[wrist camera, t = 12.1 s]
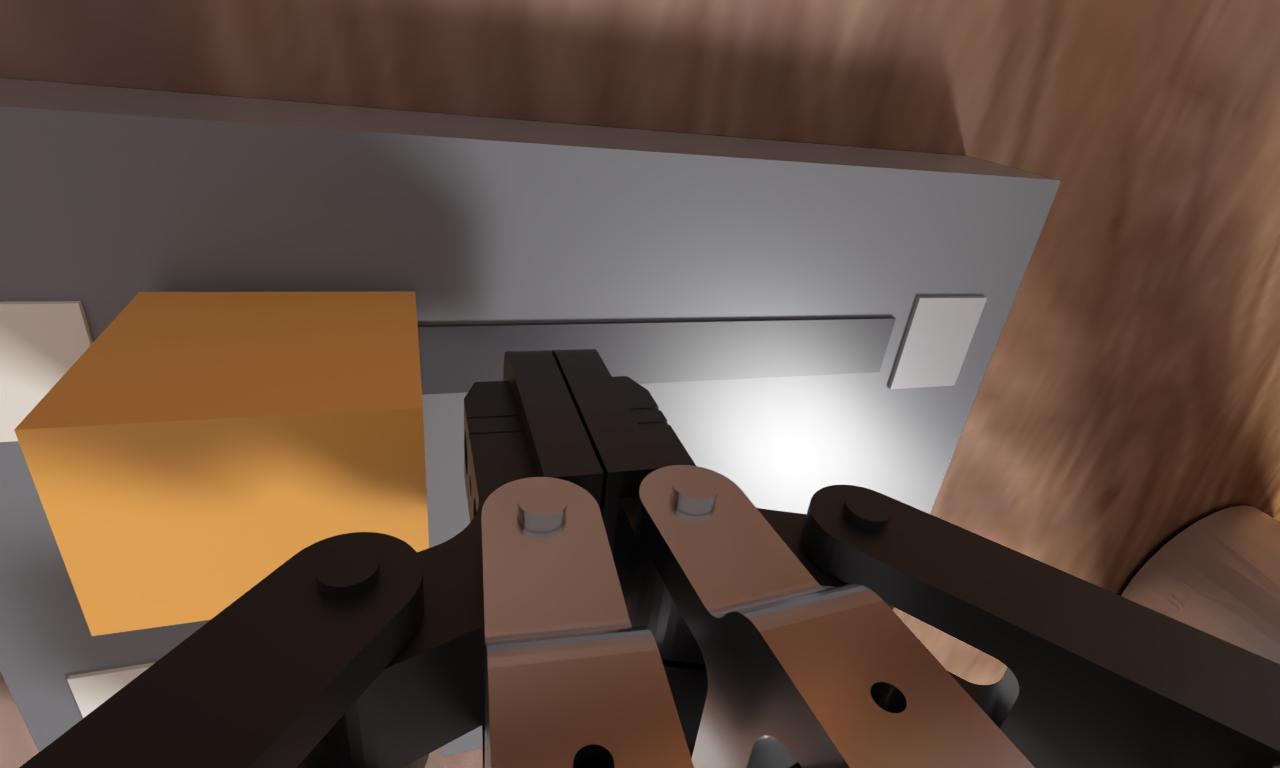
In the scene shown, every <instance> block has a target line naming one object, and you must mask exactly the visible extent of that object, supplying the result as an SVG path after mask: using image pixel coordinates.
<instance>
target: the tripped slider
mask: <svg viewBox="0 0 1280 768" xmlns="http://www.w3.org/2000/svg"><path fill="white" fill-rule="evenodd" d="M14 431H15V433H16V436H17V439H18V441H19V444H20V447H21V449H22V452H23V455H24V457H25V460H26V463H27V465H28V468H29V471H30V473H31V476H32V479H33V481H34V484H35V487H36V489H37V492H38V495H39V497H40V500H41V502H42V505H43V508H44V510H45V513H46V516H47V518H48V521H49V524H50V526H51V529H52V532H53V534H54V537H55V540H56V542H57V545H58V548H59V550H60V553H61V556H62V558H63V561H64V563H65V566H66V569H67V571H68V574H69V577H70V579H71V582H72V585H73V587H74V590H75V593H76V595H77V598H78V601H79V603H80V606H81V609H82V611H83V614H84V617H85V619H86V622H87V624H88V627H89V630H90V632H91V635H92V636H97V635H104V634H112V633H119V632H126V631H133V630H140V629H147V628H155V627H162V626H169V625H176V624H183V623H191V622H198V621H205V620H211V619H212V618H214V617H215V616H216V615H218V614H219V613H220V612H221V611H223V610H224V609H225V608H227V607H228V606H229V605H231V604H232V603H233V602H234V601H236V600H237V599H238V598H240V597H241V596H242V595H243V594H245V593H246V592H247V591H249V590H250V589H251V588H253V587H254V586H255V585H256V584H258V583H259V582H260V581H262V580H263V579H264V578H265V577H267V576H268V575H269V574H271V573H272V572H273V571H275V570H276V569H277V568H278V567H280V566H281V565H282V564H284V563H285V562H286V561H287V560H289V559H290V558H291V557H293V556H294V555H295V554H297V553H298V552H300V551H301V550H303V549H304V548H306V547H308V546H310V545H312V544H314V543H316V542H319V541H321V540H324V539H326V538H330V537H333V536H337V535H341V534H347V533H355V532H376V533H382V534H387V535H390V536H394V537H396V538H399V539H401V540H403V541H405V542H406V543H407V544H409V545H410V546H411V547H412V548H413V549H414V550H415V551H416V552H420V551H422V550H425V549H428V548H429V533H428V510H427V487H426V465H425V442H424V419H423V400H422V385H421V370H420V354H419V339H418V324H417V309H416V294H415V291H366V292H139V293H138V294H137V295H136V296H135V297H134V298H133V299H132V300H131V301H130V303H129V304H128V305H127V306H126V307H125V308H124V309H123V310H122V311H121V313H120V314H119V315H118V316H117V317H116V318H115V319H114V320H113V321H112V322H111V324H110V325H109V326H108V327H107V328H106V329H105V330H104V331H103V332H102V333H101V335H100V336H99V337H98V338H97V339H96V340H95V341H94V342H93V343H92V345H91V346H90V347H89V348H88V349H87V350H86V351H85V352H84V353H83V354H82V356H81V357H80V358H79V359H78V360H77V361H76V362H75V363H74V364H73V365H72V367H71V368H70V369H69V370H68V371H67V372H66V373H65V374H64V375H63V376H62V378H61V379H60V380H59V381H58V382H57V383H56V384H55V385H54V386H53V388H52V389H51V390H50V391H49V392H48V393H47V394H46V395H45V396H44V397H43V399H42V400H41V401H40V402H39V403H38V404H37V405H36V406H35V407H34V408H33V410H32V411H31V412H30V413H29V414H28V415H27V416H26V417H25V418H24V419H23V421H22V422H21V423H20V424H19V425H18V426H17V427H16V428H15V429H14Z"/></svg>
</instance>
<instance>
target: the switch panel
mask: <svg viewBox="0 0 1280 768" xmlns="http://www.w3.org/2000/svg"><path fill="white" fill-rule="evenodd" d="M1060 183H1061V180H1058V179H1054V178H1050V177H1047V176H1043V175H1039V174H1035V173H1031V172H1027V171H1023V170H1020V169H1016V168H1012V167H1008V166H1004V165H1000V164H996V163H993V162H989V161H985V160H981V159H977V158H973V157H969V156H961V155H949V154H936V153H924V152H912V151H899V150H887V149H874V148H862V147H850V146H837V145H825V144H813V143H800V142H788V141H776V140H763V139H751V138H738V137H726V136H714V135H701V134H689V133H677V132H664V131H652V130H639V129H627V128H615V127H602V126H590V125H578V124H565V123H553V122H540V121H528V120H516V119H503V118H491V117H479V116H466V115H454V114H441V113H429V112H417V111H404V110H392V109H380V108H367V107H355V106H342V105H330V104H318V103H305V102H293V101H281V100H268V99H256V98H244V97H231V96H219V95H206V94H194V93H182V92H169V91H157V90H145V89H132V88H120V87H107V86H95V85H83V84H70V83H58V82H46V81H33V80H21V79H8V78H0V672H1V674H2V676H3V678H4V680H5V682H6V684H7V687H8V689H9V691H10V693H11V695H12V697H13V699H14V701H15V703H16V705H17V707H18V709H19V711H20V713H21V716H22V718H23V720H24V722H25V724H26V726H27V728H28V730H29V732H30V734H31V736H32V738H33V740H34V742H35V744H36V747H37V749H38V751H39V752H40V751H42V750H43V749H44V748H46V747H47V746H48V745H49V744H51V743H52V742H53V741H55V740H56V739H57V738H59V737H60V736H61V735H62V734H64V733H65V732H66V731H68V730H69V729H70V728H71V727H73V726H74V725H75V724H77V723H78V722H79V721H81V720H82V719H83V718H84V717H86V716H87V715H88V714H90V713H91V712H92V711H93V710H95V709H96V708H97V707H99V706H100V705H101V704H103V703H104V702H105V701H106V700H108V699H109V698H110V697H112V696H113V695H114V694H115V693H117V692H118V691H119V690H121V689H122V688H123V687H124V686H126V685H127V684H128V683H130V682H131V681H132V680H134V679H135V678H136V677H137V676H139V675H140V674H141V673H143V672H144V671H145V670H146V669H148V668H149V667H150V666H152V665H153V664H154V663H156V662H157V661H158V660H159V659H161V658H162V657H163V656H165V655H166V654H167V653H168V652H170V651H171V650H172V649H174V648H175V647H176V646H178V645H179V644H180V643H181V642H183V641H184V640H185V639H187V638H188V637H189V636H190V635H192V634H193V633H194V632H196V631H197V630H198V629H199V628H201V627H202V626H203V625H205V624H206V623H207V622H209V621H210V620H205V621H198V622H191V623H183V624H176V625H169V626H162V627H155V628H147V629H140V630H133V631H126V632H119V633H112V634H104V635H97V636H92V635H91V632H90V630H89V627H88V624H87V622H86V619H85V617H84V614H83V611H82V609H81V606H80V603H79V601H78V598H77V595H76V593H75V590H74V587H73V585H72V582H71V579H70V577H69V574H68V571H67V569H66V566H65V563H64V561H63V558H62V556H61V553H60V550H59V548H58V545H57V542H56V540H55V537H54V534H53V532H52V529H51V526H50V524H49V521H48V518H47V516H46V513H45V510H44V508H43V505H42V502H41V500H40V497H39V495H38V492H37V489H36V487H35V484H34V481H33V479H32V476H31V473H30V471H29V468H28V465H27V463H26V460H25V457H24V455H23V452H22V449H21V447H20V444H19V441H18V439H17V436H16V433H15V431H14V429H15V428H16V427H17V426H18V425H19V424H20V423H21V422H22V421H23V419H24V418H25V417H26V416H27V415H28V414H29V413H30V412H31V411H32V410H33V408H34V407H35V406H36V405H37V404H38V403H39V402H40V401H41V400H42V399H43V397H44V396H45V395H46V394H47V393H48V392H49V391H50V390H51V389H52V388H53V386H54V385H55V384H56V383H57V382H58V381H59V380H60V379H61V378H62V376H63V375H64V374H65V373H66V372H67V371H68V370H69V369H70V368H71V367H72V365H73V364H74V363H75V362H76V361H77V360H78V359H79V358H80V357H81V356H82V354H83V353H84V352H85V351H86V350H87V349H88V348H89V347H90V346H91V345H92V343H93V342H94V341H95V340H96V339H97V338H98V337H99V336H100V335H101V333H102V332H103V331H104V330H105V329H106V328H107V327H108V326H109V325H110V324H111V322H112V321H113V320H114V319H115V318H116V317H117V316H118V315H119V314H120V313H121V311H122V310H123V309H124V308H125V307H126V306H127V305H128V304H129V303H130V301H131V300H132V299H133V298H134V297H135V296H136V295H137V294H138V293H139V292H366V291H415V294H416V309H417V324H418V339H419V354H420V370H421V385H422V400H423V419H424V442H425V465H426V487H427V510H428V533H429V548H431V547H434V546H436V545H439V544H441V543H444V542H446V541H447V540H449V539H451V538H453V537H454V536H456V535H457V534H459V533H460V532H461V531H463V530H464V529H465V528H466V527H467V526H468V525H469V524H470V517H469V510H468V499H467V494H466V486H465V478H464V398H465V396H466V395H467V393H468V392H469V390H470V389H471V387H472V386H473V384H474V383H475V382H487V381H503V366H504V355H505V352H506V351H540V350H550V351H552V350H576V349H596V350H597V351H598V353H599V355H600V357H601V358H602V360H603V362H604V364H605V365H606V367H607V369H608V371H609V373H610V374H611V376H612V377H614V376H628V377H629V378H631V379H632V380H634V381H635V382H637V383H638V384H640V385H641V386H643V387H644V388H646V389H647V390H648V391H649V393H650V394H651V396H652V397H653V399H654V400H655V402H656V404H657V405H658V407H659V410H661V411H662V413H663V415H664V416H665V418H666V419H667V421H668V425H670V426H671V427H672V429H673V430H674V432H675V433H676V435H677V437H678V438H679V440H680V441H681V443H682V444H683V446H684V448H685V449H686V451H687V452H688V454H689V455H690V457H691V458H692V460H693V462H694V463H695V465H696V466H698V467H703V468H707V469H710V470H713V471H715V472H717V473H720V474H722V475H724V476H725V477H727V478H729V479H730V480H731V481H733V482H734V483H735V484H736V485H737V486H738V487H739V488H740V489H741V490H742V491H743V492H744V494H745V495H746V496H747V497H748V498H749V500H750V501H751V502H752V503H753V505H754V506H755V507H756V508H761V509H768V510H776V511H784V512H792V513H800V514H807V511H808V508H809V504H810V501H811V498H812V496H813V495H814V494H815V493H816V492H817V491H818V490H820V489H822V488H824V487H827V486H832V485H854V486H859V487H864V488H867V489H871V490H874V491H876V492H879V493H881V494H884V495H886V496H888V497H891V498H893V499H895V500H898V501H900V502H902V503H905V504H907V505H909V506H912V507H914V508H916V509H919V510H921V511H923V512H926V513H928V514H930V512H931V510H932V507H933V505H934V502H935V500H936V497H937V495H938V492H939V489H940V487H941V484H942V482H943V479H944V477H945V474H946V472H947V469H948V467H949V464H950V462H951V459H952V457H953V454H954V451H955V449H956V446H957V444H958V441H959V439H960V436H961V434H962V431H963V429H964V426H965V424H966V421H967V419H968V416H969V413H970V411H971V408H972V406H973V403H974V401H975V398H976V396H977V393H978V391H979V388H980V386H981V383H982V380H983V378H984V375H985V373H986V370H987V368H988V365H989V363H990V360H991V358H992V355H993V353H994V350H995V348H996V345H997V342H998V340H999V337H1000V335H1001V332H1002V330H1003V327H1004V325H1005V322H1006V320H1007V317H1008V315H1009V312H1010V309H1011V307H1012V304H1013V302H1014V299H1015V297H1016V294H1017V292H1018V289H1019V287H1020V284H1021V282H1022V279H1023V277H1024V274H1025V271H1026V269H1027V266H1028V264H1029V261H1030V259H1031V256H1032V254H1033V251H1034V249H1035V246H1036V244H1037V241H1038V239H1039V236H1040V233H1041V231H1042V228H1043V226H1044V223H1045V221H1046V218H1047V216H1048V213H1049V211H1050V208H1051V206H1052V203H1053V200H1054V198H1055V195H1056V193H1057V190H1058V188H1059V185H1060ZM481 748H482V730H481V726H480V727H478V728H476V729H474V730H472V731H470V732H468V733H467V734H465V735H463V736H461V737H459V738H457V739H455V740H453V741H452V742H450V743H448V744H446V745H444V746H442V747H441V751H442V757H445V756H449V755H454V754H458V753H463V752H468V751H472V750H477V749H481Z"/></svg>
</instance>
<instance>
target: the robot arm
mask: <svg viewBox="0 0 1280 768" xmlns="http://www.w3.org/2000/svg"><path fill="white" fill-rule="evenodd" d="M464 478H465V486H466V494H467V499H468V510H469V517H470V524H469V525H468V526H467V527H466V528H465V529H464V530H463V531H461V532H460V533H459V534H457V535H456V536H454V537H453V538H451V539H449V540H447V541H446V542H444V543H441V544H439V545H436V546H434V547H431V548H428V549H425V550H422V551H420V552H416V551H415V550H414V549H413V548H412V547H411V546H410V545H409V544H407V543H406V542H405V541H403V540H401V539H399V538H396V537H394V536H390V535H387V534H382V533H376V532H355V533H347V534H341V535H337V536H333V537H330V538H326V539H324V540H321V541H319V542H316V543H314V544H312V545H310V546H308V547H306V548H304V549H303V550H301V551H300V552H298V553H297V554H295V555H294V556H293V557H291V558H290V559H289V560H287V561H286V562H285V563H284V564H282V565H281V566H280V567H278V568H277V569H276V570H275V571H273V572H272V573H271V574H269V575H268V576H267V577H265V578H264V579H263V580H262V581H260V582H259V583H258V584H256V585H255V586H254V587H253V588H251V589H250V590H249V591H247V592H246V593H245V594H243V595H242V596H241V597H240V598H238V599H237V600H236V601H234V602H233V603H232V604H231V605H229V606H228V607H227V608H225V609H224V610H223V611H221V612H220V613H219V614H218V615H216V616H215V617H214V618H212V619H211V620H210V621H209V622H207V623H206V624H205V625H203V626H202V627H201V628H199V629H198V630H197V631H196V632H194V633H193V634H192V635H190V636H189V637H188V638H187V639H185V640H184V641H183V642H181V643H180V644H179V645H178V646H176V647H175V648H174V649H172V650H171V651H170V652H168V653H167V654H166V655H165V656H163V657H162V658H161V659H159V660H158V661H157V662H156V663H154V664H153V665H152V666H150V667H149V668H148V669H146V670H145V671H144V672H143V673H141V674H140V675H139V676H137V677H136V678H135V679H134V680H132V681H131V682H130V683H128V684H127V685H126V686H124V687H123V688H122V689H121V690H119V691H118V692H117V693H115V694H114V695H113V696H112V697H110V698H109V699H108V700H106V701H105V702H104V703H103V704H101V705H100V706H99V707H97V708H96V709H95V710H93V711H92V712H91V713H90V714H88V715H87V716H86V717H84V718H83V719H82V720H81V721H79V722H78V723H77V724H75V725H74V726H73V727H71V728H70V729H69V730H68V731H66V732H65V733H64V734H62V735H61V736H60V737H59V738H57V739H56V740H55V741H53V742H52V743H51V744H49V745H48V746H47V747H46V748H44V749H43V750H42V751H40V752H39V753H38V754H37V755H35V756H34V757H33V758H31V759H30V760H29V761H27V762H26V763H25V764H24V765H22V766H21V767H20V768H425V765H426V763H427V760H428V758H429V753H431V752H433V751H435V750H437V749H438V748H440V747H442V746H444V745H446V744H448V743H450V742H452V741H453V740H455V739H457V738H459V737H461V736H463V735H465V734H467V733H468V732H470V731H472V730H474V729H476V728H478V727H480V726H481V730H482V768H1280V522H1279V521H1278V520H1276V519H1274V518H1272V517H1271V516H1269V515H1267V514H1266V513H1264V512H1262V511H1260V510H1259V509H1257V508H1255V507H1252V506H1245V505H1242V506H1235V507H1229V508H1227V509H1224V510H1221V511H1218V512H1215V513H1213V514H1211V515H1209V516H1207V517H1205V518H1203V519H1201V520H1199V521H1197V522H1196V523H1194V524H1193V525H1191V526H1190V527H1188V528H1187V529H1185V530H1183V531H1182V532H1180V533H1179V534H1178V535H1177V536H1175V537H1174V538H1173V539H1172V540H1170V541H1169V542H1168V543H1167V544H1165V545H1164V546H1163V547H1162V548H1161V549H1160V550H1159V551H1158V552H1156V553H1155V554H1154V555H1153V556H1152V557H1151V558H1150V559H1149V560H1148V561H1147V562H1146V563H1145V564H1144V566H1143V567H1142V568H1141V569H1140V570H1139V571H1138V573H1137V574H1136V575H1135V576H1134V577H1133V579H1132V580H1131V581H1130V583H1129V584H1128V586H1127V587H1126V589H1125V590H1124V592H1123V593H1122V595H1121V596H1119V595H1117V594H1115V593H1112V592H1110V591H1108V590H1105V589H1103V588H1101V587H1098V586H1096V585H1094V584H1091V583H1089V582H1087V581H1084V580H1082V579H1080V578H1077V577H1075V576H1073V575H1070V574H1068V573H1066V572H1063V571H1061V570H1059V569H1056V568H1054V567H1052V566H1049V565H1047V564H1045V563H1042V562H1040V561H1038V560H1035V559H1033V558H1031V557H1028V556H1026V555H1024V554H1021V553H1019V552H1017V551H1014V550H1012V549H1010V548H1007V547H1005V546H1003V545H1000V544H998V543H996V542H993V541H991V540H989V539H986V538H984V537H982V536H979V535H977V534H975V533H972V532H970V531H968V530H965V529H963V528H961V527H958V526H956V525H954V524H951V523H949V522H947V521H944V520H942V519H940V518H937V517H935V516H933V515H930V514H928V513H926V512H923V511H921V510H919V509H916V508H914V507H912V506H909V505H907V504H905V503H902V502H900V501H898V500H895V499H893V498H891V497H888V496H886V495H884V494H881V493H879V492H876V491H874V490H871V489H867V488H864V487H859V486H854V485H832V486H827V487H824V488H822V489H820V490H818V491H817V492H816V493H815V494H814V495H813V496H812V498H811V501H810V504H809V508H808V511H807V514H800V513H792V512H784V511H776V510H768V509H761V508H756V507H755V506H754V505H753V503H752V502H751V501H750V500H749V498H748V497H747V496H746V495H745V494H744V492H743V491H742V490H741V489H740V488H739V487H738V486H737V485H736V484H735V483H734V482H733V481H731V480H730V479H729V478H727V477H725V476H724V475H722V474H720V473H717V472H715V471H713V470H710V469H707V468H703V467H698V466H696V465H695V463H694V462H693V460H692V458H691V457H690V455H689V454H688V452H687V451H686V449H685V448H684V446H683V444H682V443H681V441H680V440H679V438H678V437H677V435H676V433H675V432H674V430H673V429H672V427H671V426H670V425H668V421H667V419H666V418H665V416H664V415H663V413H662V411H661V410H659V407H658V405H657V404H656V402H655V400H654V399H653V397H652V396H651V394H650V393H649V391H648V390H647V389H646V388H644V387H643V386H641V385H640V384H638V383H637V382H635V381H634V380H632V379H631V378H629V377H628V376H614V377H612V376H611V374H610V373H609V371H608V369H607V367H606V365H605V364H604V362H603V360H602V358H601V357H600V355H599V353H598V351H597V350H596V349H576V350H552V351H550V350H540V351H506V352H505V355H504V366H503V381H487V382H475V383H474V384H473V386H472V387H471V389H470V390H469V392H468V393H467V395H466V396H465V398H464ZM894 607H896V608H898V609H899V610H901V611H903V612H905V613H907V614H909V615H911V616H913V617H915V618H917V619H919V620H921V621H923V622H925V623H927V624H929V625H931V626H933V627H935V628H937V629H939V630H941V631H943V632H945V633H947V634H949V635H951V636H953V637H955V638H957V639H959V640H961V641H963V642H965V643H967V644H969V645H971V646H973V647H975V648H977V649H979V650H981V651H983V652H985V653H987V654H989V655H991V656H993V657H995V658H996V659H998V660H1000V661H1001V662H1002V663H1004V664H1005V665H1006V666H1007V667H1008V668H1007V670H1006V672H1005V674H1004V676H1003V677H1002V679H1001V680H1000V681H999V682H997V683H995V684H992V685H977V684H973V683H970V682H968V681H966V680H964V679H962V678H960V677H958V676H956V675H954V674H952V673H950V672H948V671H947V670H946V669H945V668H944V667H943V666H942V665H941V663H940V662H939V661H938V660H937V659H936V658H935V657H934V656H933V655H932V654H931V652H930V651H929V650H928V649H927V648H926V647H925V646H924V645H923V644H922V642H921V641H920V640H919V639H918V638H917V637H916V636H915V635H914V634H913V633H912V631H911V630H910V629H909V628H908V627H907V626H906V625H905V624H904V623H903V622H902V620H901V619H900V618H899V617H898V616H897V615H896V614H895V613H894V612H893V608H894Z"/></svg>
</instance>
